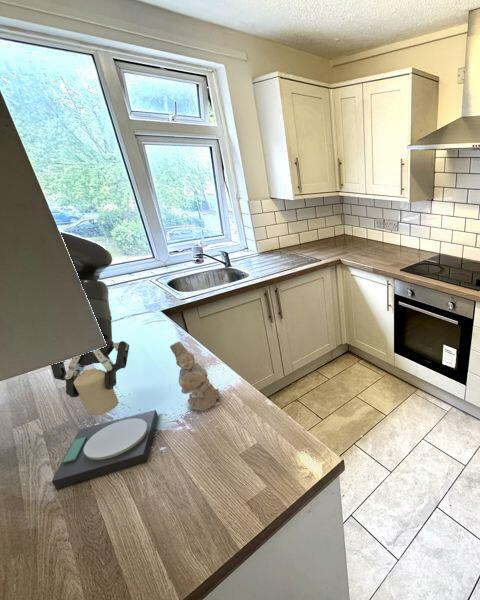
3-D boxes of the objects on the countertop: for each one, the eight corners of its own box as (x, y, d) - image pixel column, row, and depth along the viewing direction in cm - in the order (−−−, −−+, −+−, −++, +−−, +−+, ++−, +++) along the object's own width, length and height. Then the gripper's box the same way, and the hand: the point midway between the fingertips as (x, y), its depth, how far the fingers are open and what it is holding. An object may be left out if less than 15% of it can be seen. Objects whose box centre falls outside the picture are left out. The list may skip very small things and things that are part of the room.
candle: (93, 419, 73) (75, 383, 69) (84, 409, 76) (66, 374, 72) (123, 404, 77) (107, 370, 73) (113, 396, 80) (98, 362, 76)
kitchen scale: (55, 489, 70) (49, 478, 69) (83, 436, 83) (78, 426, 82) (146, 461, 76) (142, 451, 75) (158, 416, 89) (154, 407, 88)
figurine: (186, 399, 96) (167, 340, 88) (218, 388, 100) (202, 331, 92) (188, 417, 89) (167, 355, 81) (222, 405, 93) (206, 345, 85)
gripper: (39, 323, 71) (37, 400, 66) (121, 311, 77) (125, 381, 72) (59, 333, 78) (59, 404, 73) (133, 321, 84) (138, 386, 79)
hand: (92, 392), depth 73 cm, fingers closed on candle, 5 cm apart
